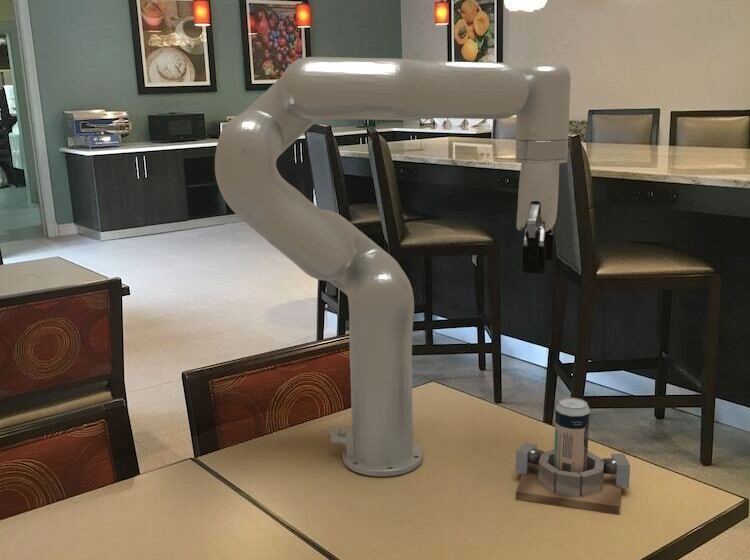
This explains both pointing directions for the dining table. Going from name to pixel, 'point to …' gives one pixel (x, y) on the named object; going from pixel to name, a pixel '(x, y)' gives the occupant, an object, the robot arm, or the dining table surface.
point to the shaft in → (527, 458)
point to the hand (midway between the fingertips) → (538, 265)
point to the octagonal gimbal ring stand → (570, 486)
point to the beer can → (571, 435)
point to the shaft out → (618, 470)
